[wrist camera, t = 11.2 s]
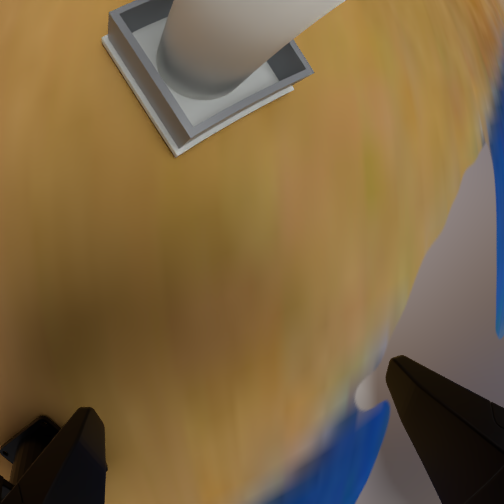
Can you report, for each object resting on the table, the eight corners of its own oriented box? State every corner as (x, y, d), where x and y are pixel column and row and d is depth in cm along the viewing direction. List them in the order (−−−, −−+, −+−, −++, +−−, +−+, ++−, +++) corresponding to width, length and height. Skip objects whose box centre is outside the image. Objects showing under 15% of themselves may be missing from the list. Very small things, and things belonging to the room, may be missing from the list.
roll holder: (175, 157, 17) (188, 146, 14) (101, 42, 14) (101, 11, 11) (289, 92, 20) (320, 75, 16) (222, -8, 16) (241, -36, 13)
